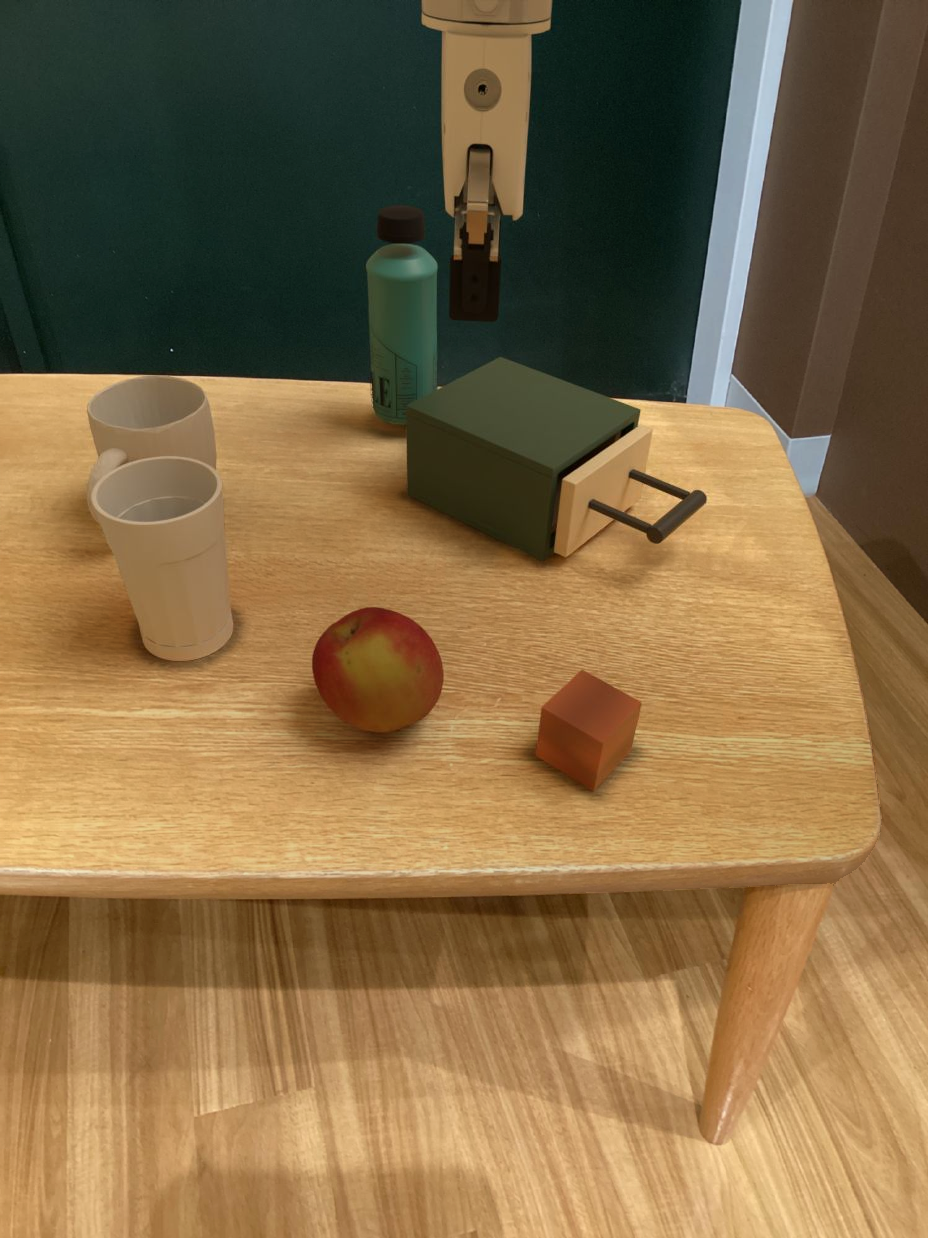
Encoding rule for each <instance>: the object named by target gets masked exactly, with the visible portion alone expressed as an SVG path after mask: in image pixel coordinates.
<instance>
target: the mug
mask: <svg viewBox="0 0 928 1238" xmlns="http://www.w3.org/2000/svg"><path fill="white" fill-rule="evenodd" d="M86 405H87V407H86V413H87V419H88V424H89V429H90V432H91V435H92V439H93V443H94V447H95V450H96V454H97V457H98V458H97V459H96V460H95V462H94V463H93V466H92V468H91V470H90V473H89V476H88V480H87V483H86V490H85V491H86V493H85V494H86V503H87V508H88V511H89V512H90V514H91V517H92V518H93V520H95V522H96V523H98V524H99V525H100V522H99V520H98V517H97V515H96V512H95V509H94V507H93V504H92V501H91V494H92V490H93V488H94V486H95V485H96V483H97V482H98V481H99V480H100V479H101V478H102V477H103V476H105V475H106V474H107V473H109V472H110V471H112V470H114V469H116V468H118V467H120V466H122V465H124V464H127V463H130V462H133V461H137V460H141V459H145V458H151V457H160V456H178V457H186V458H192V459H196V460H199V461H201V462H204V463H206V464H208V465H210V466H211V467H213V468H214V469H215V470H216V471H217V446H216V435H215V428H214V423H213V416H212V409H211V405H210V402H209V398H208V395H207V392H206V391H205V390H204V389H203V388H202V387H201V386H200V385H198V384H197V383H195V382H192V381H190V380H188V379H186V378H181V377H175V376H171V375H143V376H141V375H140V376H136V377H132V378H128V379H123V380H119V381H117V382H115V383H112V384H110V385H107V386H105V387H103V388H102V389H100V390H98V392H96V393H95V394H94V395H93V396H92V397H91V398H90V399H89V401H88V403H87V404H86Z"/></svg>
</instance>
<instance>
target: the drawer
mask: <svg viewBox="0 0 928 1238" xmlns="http://www.w3.org/2000/svg"><path fill="white" fill-rule="evenodd" d="M653 431H654V428H653V427H649V426H646V425H644V424H638V427H636V428H635V429H633V430H632V431H631V432H629V433H628V434H626V435H625V436H623V437H622V438H621V439H620V434H621V431H619V432H618V433H616V434H615V435H614V436H612V437H611V438H609V439H608V440H606V441H605V442H603V443H602V444H600V445H599V446H598V447H596V448H595V449H593V450H592V451H590V452H589V453H587V454H586V455H584V456H583V457H582V458H580V459H579V460H577V461H576V462H574V463H573V464H571V465H570V466H568V467H567V468H566V469H564V470H563V471H561V472H560V473H558V476H557V485H556V494H555V503H554V512H553V521H552V529H551V534H552V533H553V532H555V531H556V538H555V546H554V553H555V554H558V555H559V556H561V557H563V558H567V557H568V556H569V555H571V554H572V553H574V552H575V551H576V550H577V549H578V548H580V547H581V546H582V545H584V544H586V542H587V541H589V540H591V538H593V537H594V536H595V535H596V534H598V533H599V532H600V531H602V530H603V529H604V528H606V526H608V525H609V524H610V523H611V522H613V521H614V520H615V521H617V522H618V523H621V524H623V525H625V526H628V527H630V528H632V529H635V530H637V531H639V532H642V533H644V534H646V539H648V541H649V542H650V543H652V544H655V545H658V544H661V543H662V542H663V541H665V540H666V539H667V538H668V537H669V536H670V535H672V534H673V533H674V532H675V531H676V530H677V529H678V528H680V527H681V526H682V525H683V524H684V523H685V522H686V521H688V520H689V519H690V518H692V516H693V515H695V514H696V513H697V512H698V511H699V510H700V509H702V508H703V507H704V506H705V505H706V504H707V501H708V498H707V495H706V493H705V492H704V491H703V490H702V489H694V490H693V491H688V490H686V489H684V488H681V487H679V486H676V485H674V484H671V483H669V482H666V481H664V480H661V479H658V478H656V477H654V476H652V475H650V474H647V473H646V470H647V464H648V460H649V459H648V458H649V453H650V448H651V443H652V438H653V437H652V436H653ZM643 485H646V486H648V487H650V488H653V489H655V490H658V491H660V492H662V493H665V494H667V495H670V496H672V497H675V498H677V499H680V500H681V501H679V502H678V503H677V504H676V505H675V506H673V507H672V508H671V509H670V510H668V511H667V512H666V513H665V514H664V515H662V516H661V517H660V518H659V519H658V520H656V521H655V522H654V523H653V524H651V523H650V522H647V521H644V520H642V519H640V518H638V517H635V516H633V515H631V514H628V513H626V511H627V510H629V508H630V507H632V506H633V505H634V504H635V503H637V502H638V501H640V500H641V497H642V491H643V487H644V486H643Z"/></svg>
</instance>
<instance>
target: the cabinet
mask: <svg viewBox="0 0 928 1238" xmlns="http://www.w3.org/2000/svg"><path fill="white" fill-rule="evenodd" d="M641 412H642V411H641V408H638V407H635V406H633V405H631V404H627V403H625V402H622V401H620V400H617V399H614V398H611V397H609V396H607V395H604V394H601V393H598V392H595V391H593V390H591V389H587V388H584V387H582V386H579V385H577V384H574V383H571V382H568V381H566V380H565V379H564V380H563V379H561V378H558V377H555V376H553V375H550V374H547V373H545V372H542V371H541V370H536V369H535V368H532V367H529V366H526V365H524V364H521V363H518V362H515V361H513V360H511V359H507V358H505V357H502V356H499V357H497V358H495V359H493V360H492V361H490V362H488V363H485V364H483V365H482V366H479V367H478V368H476V369H474V370H472V371H470V372H468V373H466V374H465V375H463V376H461V377H458V378H456V379H455V380H453V381H450V382H449V383H446V384H445V385H443V386H441V387H439V389H438V388H437V390H435V391H434V392H432V393H430V394H428V395H426V396H424V397H422V398H420V399H418V400H416V401H414V402H412V403H410V404H408V405H407V406H406V425H405V427H406V428H405V429H406V436H405V437H406V488H407V489H406V495H407V496H408V497H411V498H413V499H415V500H417V501H419V502H421V503H423V504H424V505H427V506H429V507H431V508H433V509H435V510H437V511H438V512H439V511H440V512H441V513H443V514H445V515H448V516H449V517H451V518H454V519H455V520H458V521H459V522H462V523H464V524H466V525H468V526H470V527H472V528H474V529H476V530H478V531H480V532H482V533H484V534H485V535H488V536H489V537H492V538H494V539H495V540H498V541H500V542H502V543H504V544H506V545H508V546H510V547H512V548H513V549H517V550H519V551H520V552H522V553H524V554H526V555H529V556H531V557H532V558H535V559H537V560H539V561H541V562H544V561H545V560H547V559H548V558H549V557H551V556H552V555H554V553H555V552H554V546H555V538H556V531H555V532H553V533H552V534H551V529H552V521H553V512H554V503H555V494H556V485H557V476H558V473H560V472H561V471H563V470H564V469H566V468H567V467H568V466H570V465H571V464H573V463H574V462H576V461H577V460H579V459H580V458H582V457H583V456H584V455H586V454H587V453H589V452H590V451H592V450H593V449H595V448H596V447H598V446H599V445H600V444H602V443H603V442H605V441H606V440H608V439H609V438H611V437H612V436H614V435H615V434H616V433H618V432H619V431H621V434H620V439H621V438H622V437H623V436H625V435H626V434H628V433H629V432H631V431H632V430H633V429H635V428H636V427H638V426H639V421H640V416H641Z"/></svg>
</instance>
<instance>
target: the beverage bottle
mask: <svg viewBox="0 0 928 1238" xmlns="http://www.w3.org/2000/svg"><path fill="white" fill-rule="evenodd" d="M376 237H377V239H379V240H380V241H382V242H386V243H391V244H385V245H383V246H381V247H379V248H378V249H377V250H375V252H374V253H373V254H371V256H370V257H369V258H368V260H367V261H366V264H365V271H366V275H367V294H368V295H367V297H368V299H367V301H368V302H367V303H366V304H367V305H368V315H367V316H366V317H367V318H368V319H367V320H366V321H367V324H368V327H369V329H368V330H369V351H370V352H369V353H370V356H369V358H368V359H369V362H370V364H369V367H368V369H369V372H370V379H369V380H370V381H369V389H370V391H371V393H370V396H371V398H370V402H371V404H372V409H373V410H374V414H375V415H376V416H377V417H378V418H379V419H380V420H382V421H384V422H386V423H390V424H395V425H402V426H404V425H405V426H406V406H407V405H408V404H410V403H412V402H414V401H416V400H418V399H420V398H422V397H424V396H426V395H428V394H430V393H432V392H434V391H435V390H437V389H439V388H440V387H439V382H438V381H439V376H438V373H439V368H438V366H439V361H438V358H439V355H438V351H439V350H438V349H439V348H438V346H439V343H438V338H439V335H438V333H439V331H438V327H437V326H438V325H437V324H438V321H437V320H438V319H437V318H438V317H437V316H438V315H437V309H438V307H437V306H438V305H437V303H438V302H437V300H438V297H437V295H438V269H439V265H438V262H437V261H436V259H435V258H434V256H432V255H431V254H430V253H429V252H428V250H426V249H425V248H424V247H422V246H420V245H416V244H415V243H418V242H421V241H423V240H425V238H426V226H425V214H424V212H423V210H421V209H420V208H418V207H414V206H410V205H401V204H400V205H389V206H385V207H383V208H381V209H379V210H378V213H377V226H376Z"/></svg>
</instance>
